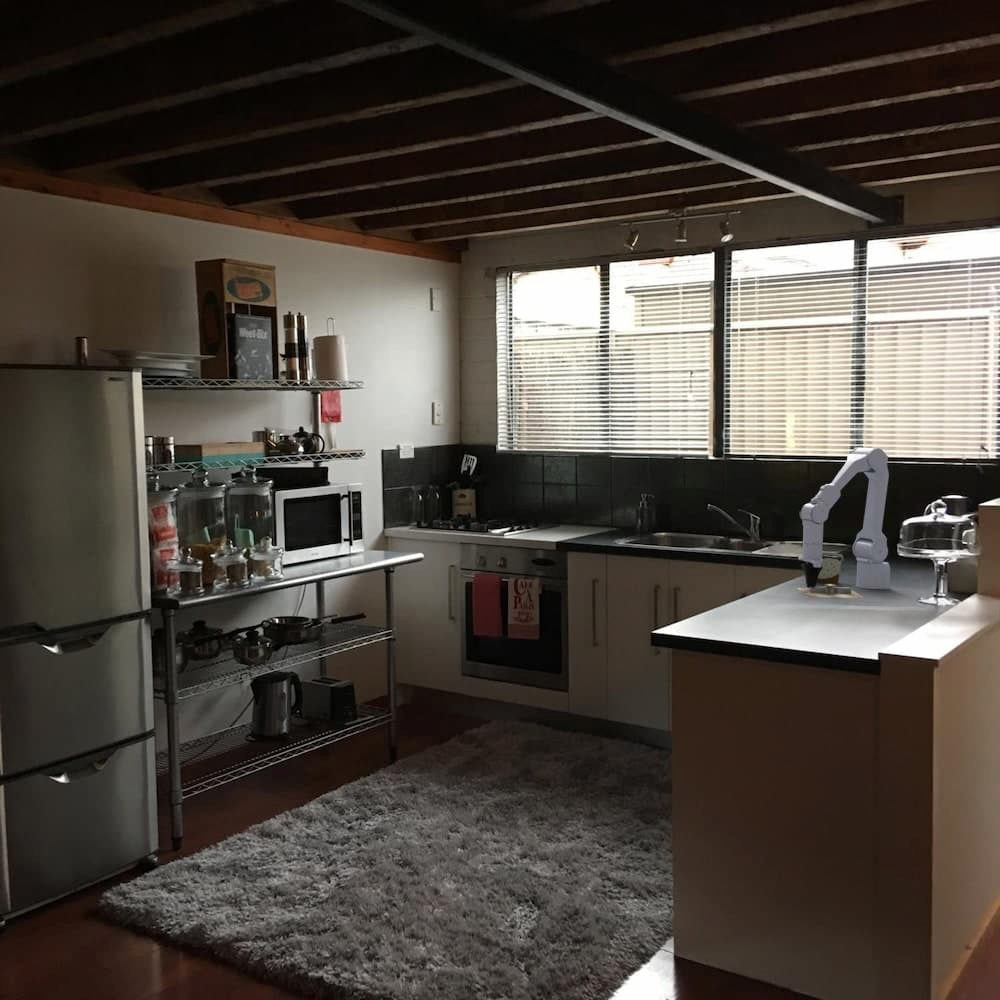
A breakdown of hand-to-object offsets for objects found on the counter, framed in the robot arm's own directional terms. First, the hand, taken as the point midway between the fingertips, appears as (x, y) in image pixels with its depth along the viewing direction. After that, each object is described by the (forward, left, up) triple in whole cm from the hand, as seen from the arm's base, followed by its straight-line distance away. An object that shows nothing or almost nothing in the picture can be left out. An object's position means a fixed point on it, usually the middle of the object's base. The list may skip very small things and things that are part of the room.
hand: (811, 587), depth 327 cm
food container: (-8, -18, -2) cm, 20 cm away
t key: (-4, +5, -1) cm, 7 cm away
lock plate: (-5, +5, -2) cm, 7 cm away
